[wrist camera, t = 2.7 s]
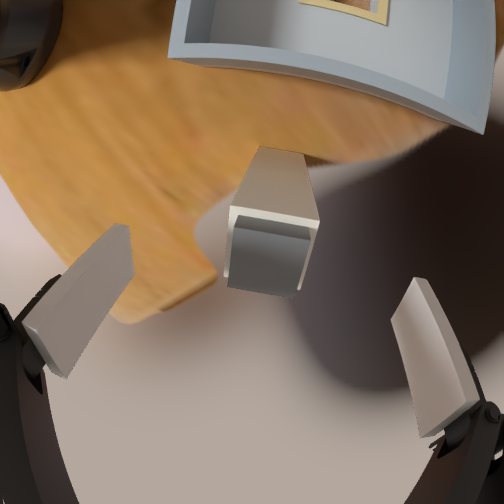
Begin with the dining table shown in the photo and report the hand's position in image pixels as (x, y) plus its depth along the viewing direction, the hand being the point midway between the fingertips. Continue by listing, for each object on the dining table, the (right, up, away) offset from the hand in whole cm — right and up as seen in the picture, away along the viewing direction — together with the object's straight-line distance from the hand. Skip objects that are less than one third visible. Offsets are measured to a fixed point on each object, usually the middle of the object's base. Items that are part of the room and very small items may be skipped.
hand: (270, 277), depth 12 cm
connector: (+2, +9, +13) cm, 16 cm away
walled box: (+7, +24, +3) cm, 25 cm away
